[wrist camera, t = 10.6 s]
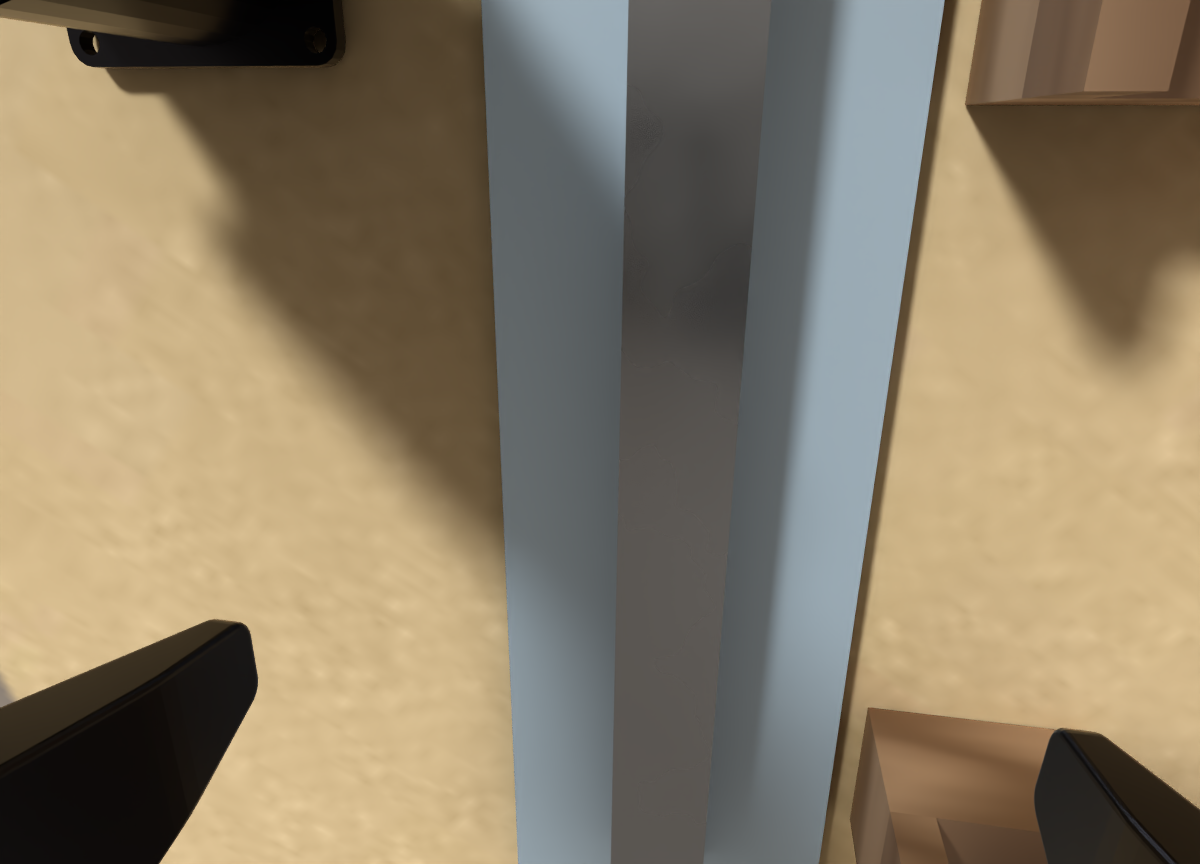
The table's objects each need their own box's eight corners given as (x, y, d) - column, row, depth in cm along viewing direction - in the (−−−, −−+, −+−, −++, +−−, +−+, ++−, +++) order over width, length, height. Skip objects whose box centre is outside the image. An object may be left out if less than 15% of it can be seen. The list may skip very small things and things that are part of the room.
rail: (702, 854, 23) (697, 930, 21) (622, 842, 24) (609, 915, 21) (787, -233, 14) (795, -302, 12) (651, -225, 14) (634, -290, 12)
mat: (523, 856, 25) (518, 873, 25) (476, -334, 15) (466, -352, 14) (809, 901, 24) (810, 919, 23) (992, -380, 13) (1003, -403, 13)
